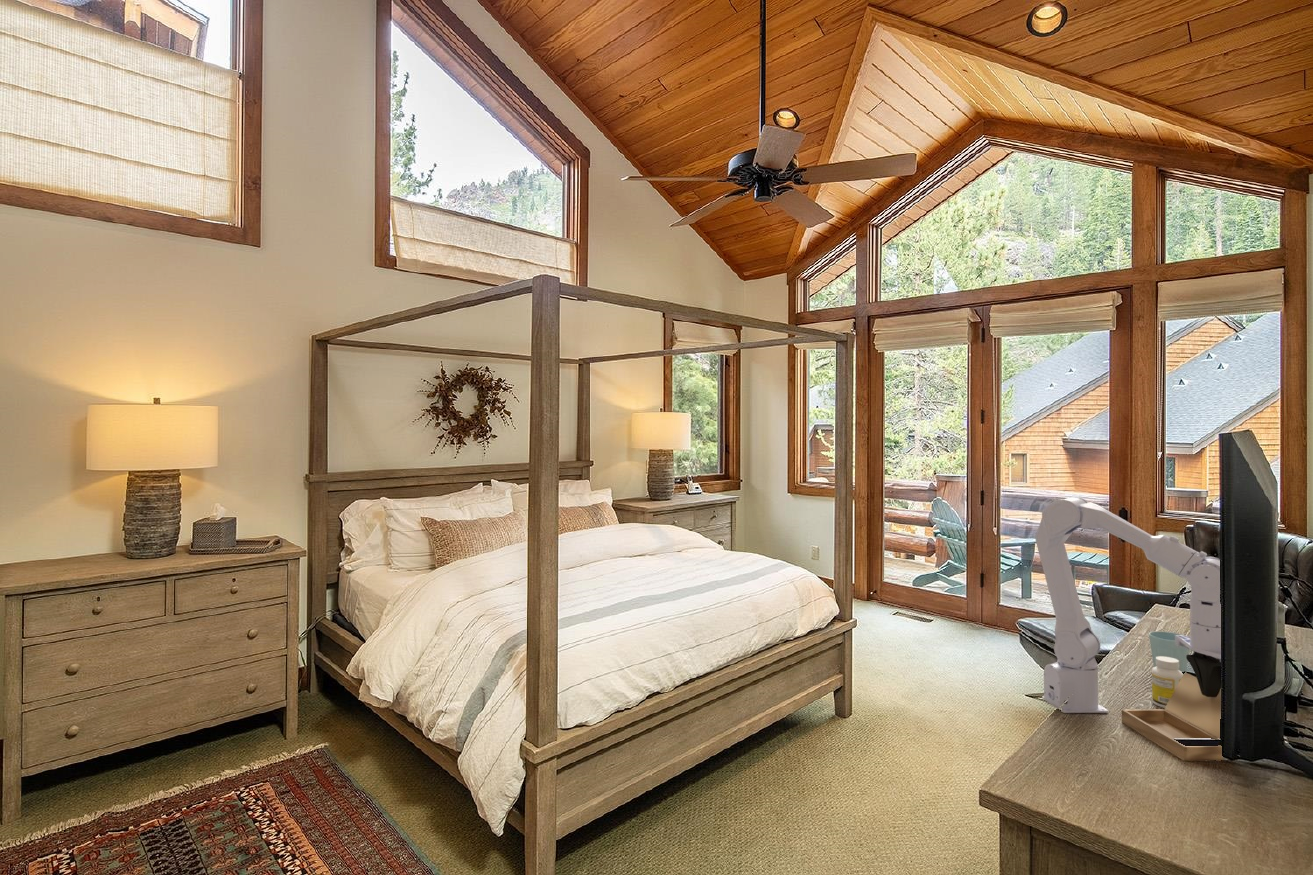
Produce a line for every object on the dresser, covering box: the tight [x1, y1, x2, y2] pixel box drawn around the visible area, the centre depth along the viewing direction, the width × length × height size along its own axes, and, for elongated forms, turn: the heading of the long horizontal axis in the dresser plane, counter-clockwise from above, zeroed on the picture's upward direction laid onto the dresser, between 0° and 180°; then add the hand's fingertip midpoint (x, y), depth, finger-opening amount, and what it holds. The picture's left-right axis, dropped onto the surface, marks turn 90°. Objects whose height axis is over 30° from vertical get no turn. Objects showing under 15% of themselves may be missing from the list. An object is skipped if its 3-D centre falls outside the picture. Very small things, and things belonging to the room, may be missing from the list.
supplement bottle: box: [1151, 656, 1183, 709], centre depth 140 cm, size 5×5×10 cm
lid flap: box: [1164, 671, 1222, 740], centre depth 125 cm, size 8×16×1 cm
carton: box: [1121, 708, 1224, 762], centre depth 125 cm, size 8×16×2 cm, turn 179°
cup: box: [1148, 630, 1190, 672], centre depth 154 cm, size 8×8×10 cm
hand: (1209, 695), depth 125 cm, fingers closed, pressing on lid flap
